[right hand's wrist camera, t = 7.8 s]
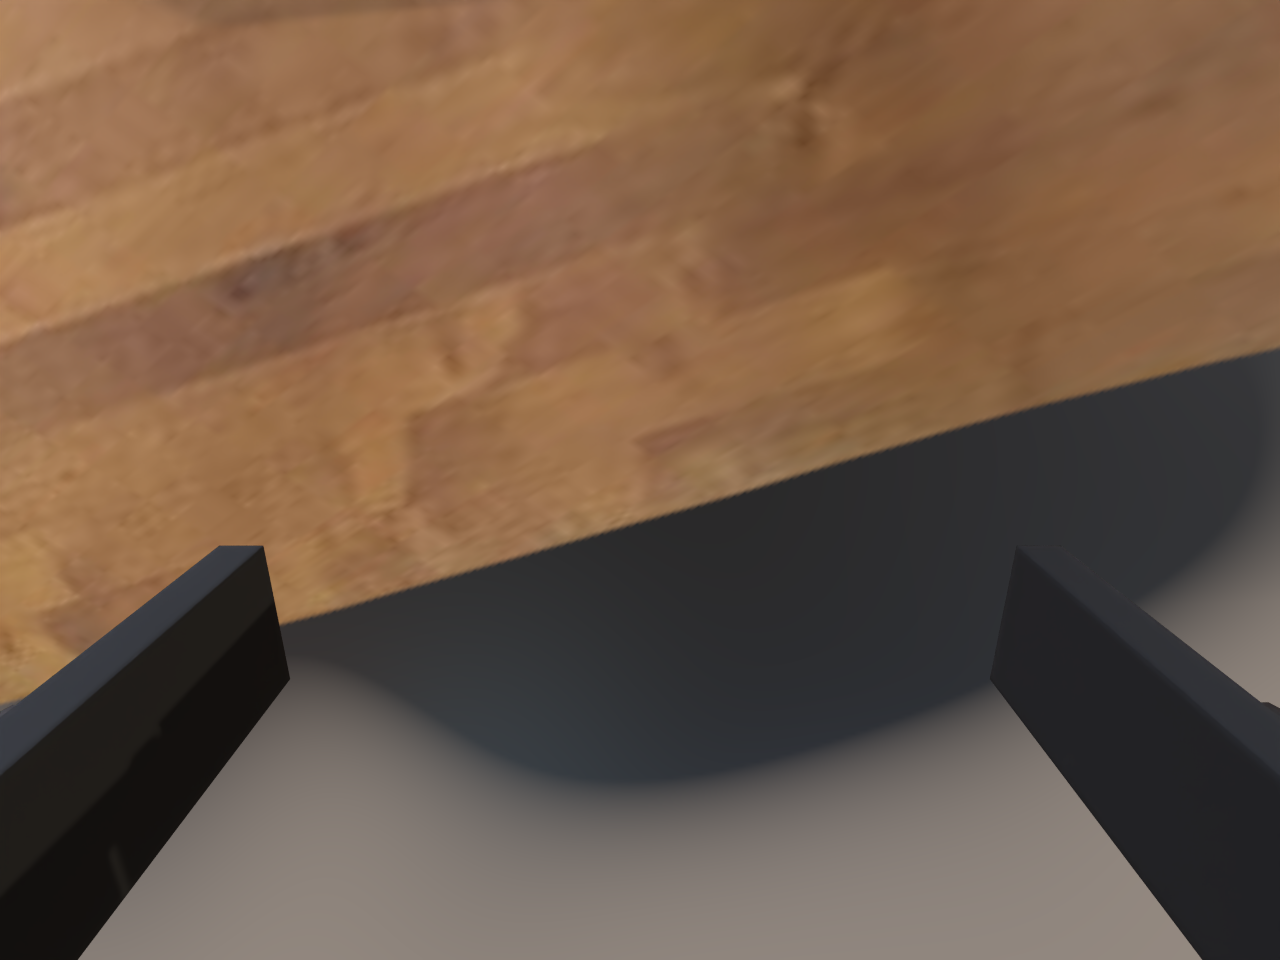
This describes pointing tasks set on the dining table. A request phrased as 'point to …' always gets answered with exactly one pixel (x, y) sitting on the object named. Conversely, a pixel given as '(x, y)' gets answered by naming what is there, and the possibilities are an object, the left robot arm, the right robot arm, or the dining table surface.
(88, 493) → the dining table surface
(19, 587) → the dining table surface
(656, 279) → the dining table surface
